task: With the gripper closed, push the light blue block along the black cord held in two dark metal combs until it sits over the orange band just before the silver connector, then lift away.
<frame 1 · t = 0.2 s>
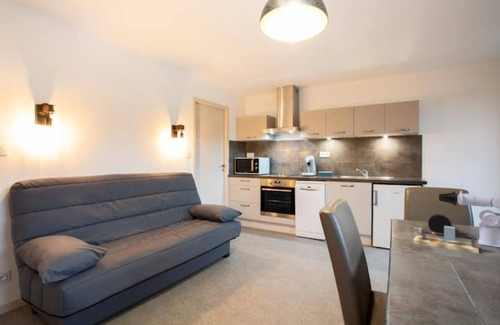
hand: (439, 197, 134), 21 cm above the table, tool horizontal, fingers open, 7 cm apart
cord board: (444, 245, 122), on the table
black cylinder: (439, 229, 151), on the table
light blue block: (449, 233, 121), point 6 cm above the table, slide at 0.0 cm
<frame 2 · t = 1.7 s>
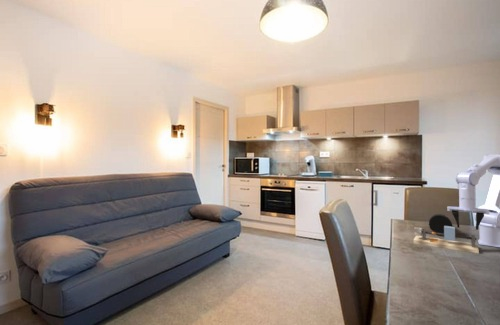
hand: (467, 228, 117), 9 cm above the table, tool pointing down, fingers open, 6 cm apart
nothing on the table moved.
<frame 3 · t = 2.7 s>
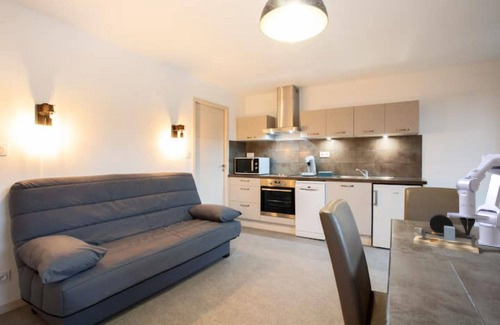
hand: (467, 234, 117), 6 cm above the table, tool pointing down, fingers closed
nothing on the table moved.
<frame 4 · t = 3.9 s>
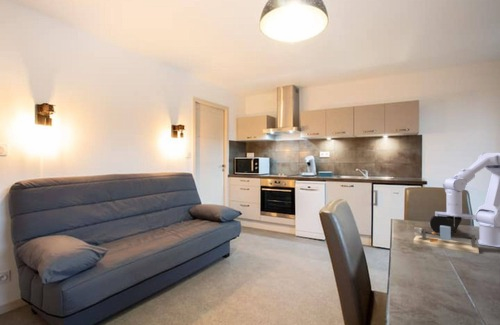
hand: (454, 233, 120), 6 cm above the table, tool pointing down, fingers closed
light blue block: (445, 232, 122), point 6 cm above the table, slide at 1.6 cm, touching gripper
everything else where it was.
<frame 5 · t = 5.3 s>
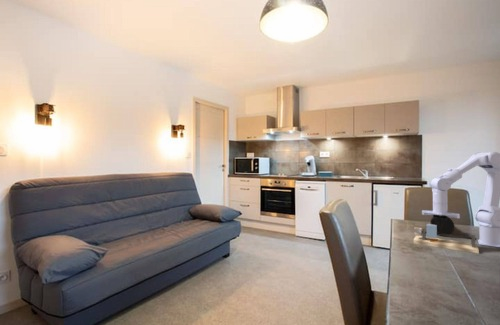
hand: (440, 231, 123), 6 cm above the table, tool pointing down, fingers closed
light blue block: (431, 231, 125), point 6 cm above the table, slide at 6.9 cm, touching gripper
everything else where it was.
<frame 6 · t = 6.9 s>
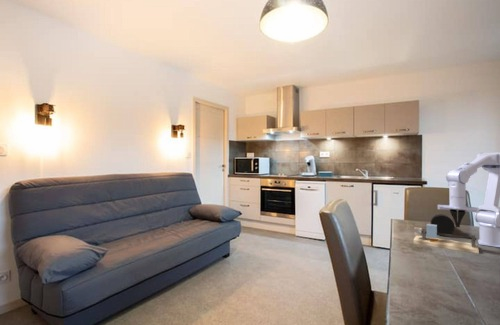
hand: (457, 226, 116), 10 cm above the table, tool pointing down, fingers closed
light blue block: (431, 231, 125), point 6 cm above the table, slide at 6.9 cm
everything else where it was.
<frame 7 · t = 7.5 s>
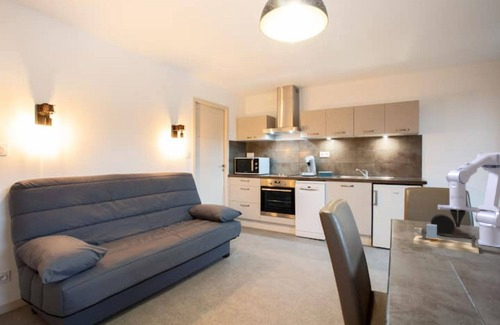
hand: (457, 226, 116), 10 cm above the table, tool pointing down, fingers closed
nothing on the table moved.
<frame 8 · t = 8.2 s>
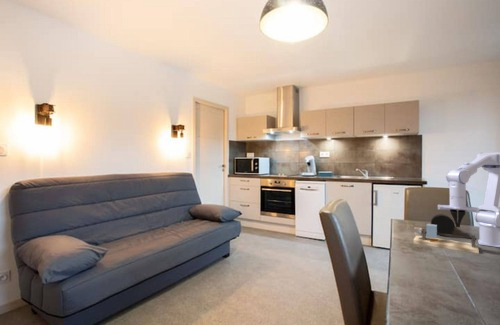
hand: (457, 226, 116), 10 cm above the table, tool pointing down, fingers closed
nothing on the table moved.
at the end: light blue block slide at 6.9 cm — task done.
